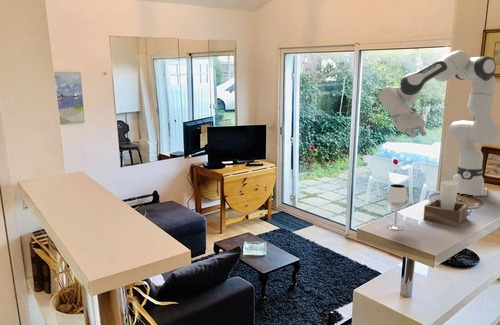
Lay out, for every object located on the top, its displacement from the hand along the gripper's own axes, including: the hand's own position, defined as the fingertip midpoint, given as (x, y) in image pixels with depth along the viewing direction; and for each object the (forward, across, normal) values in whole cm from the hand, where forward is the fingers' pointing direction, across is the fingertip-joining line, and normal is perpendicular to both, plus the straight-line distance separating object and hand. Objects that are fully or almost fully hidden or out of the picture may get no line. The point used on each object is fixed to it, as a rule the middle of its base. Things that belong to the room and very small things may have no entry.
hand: (419, 136), depth 186 cm
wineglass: (+32, -34, +17) cm, 50 cm away
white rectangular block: (+37, -6, +11) cm, 39 cm away
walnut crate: (+38, -9, +11) cm, 40 cm away
